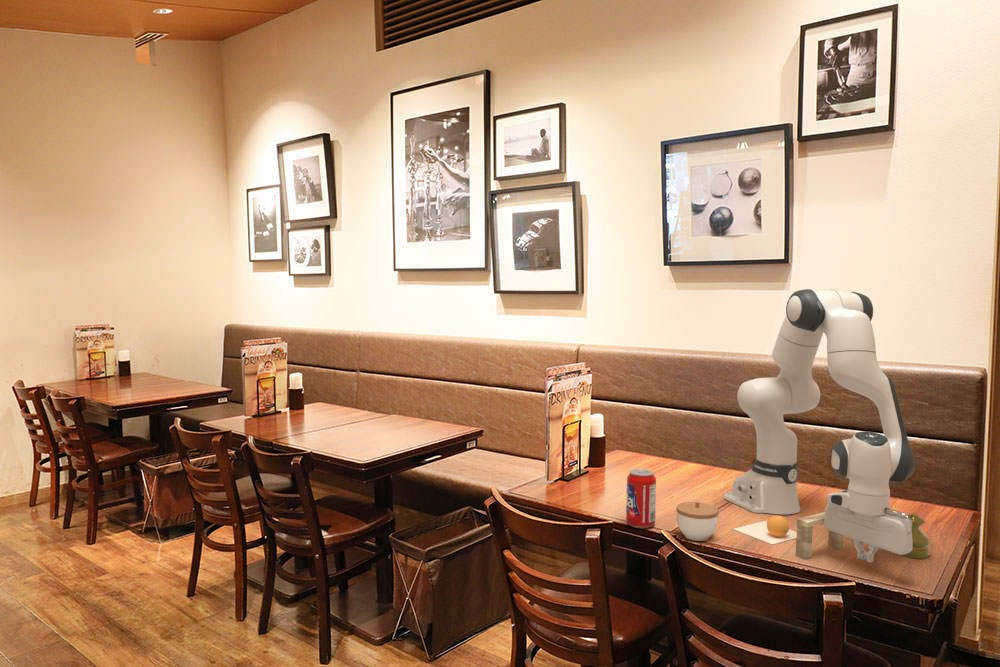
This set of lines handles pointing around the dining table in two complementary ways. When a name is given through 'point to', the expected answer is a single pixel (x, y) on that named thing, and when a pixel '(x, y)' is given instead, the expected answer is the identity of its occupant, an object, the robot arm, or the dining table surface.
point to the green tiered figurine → (918, 539)
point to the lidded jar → (697, 520)
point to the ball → (778, 526)
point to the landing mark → (764, 533)
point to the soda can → (641, 498)
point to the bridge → (806, 533)
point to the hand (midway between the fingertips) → (865, 560)
